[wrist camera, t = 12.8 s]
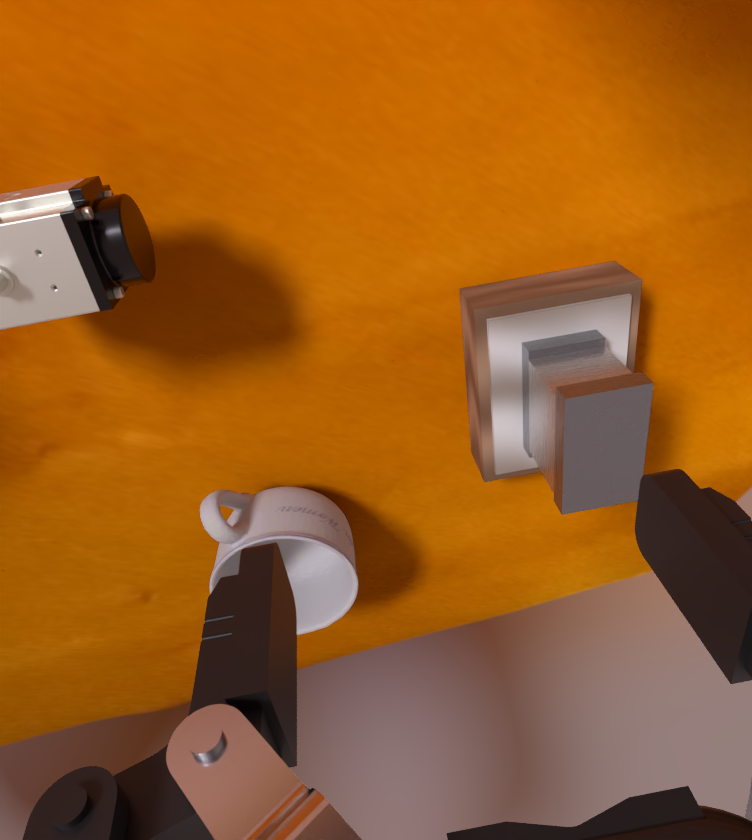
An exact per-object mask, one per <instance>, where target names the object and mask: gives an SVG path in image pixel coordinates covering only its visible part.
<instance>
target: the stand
mask: <svg viewBox="0 0 752 840" xmlns="http://www.w3.org/2000/svg"><path fill="white" fill-rule="evenodd" d="M641 288H642V279H641V278H639V277H638V276H636V275H635V274H633V273H632V272H630V271H629V270H627V269H626V268H624V267H623V266H621V265H620V264H618V263H617V262H615V261H612V262H607V263H601V264H595V265H590V266H584V267H579V268H573V269H567V270H562V271H556V272H551V273H545V274H539V275H534V276H528V277H523V278H517V279H512V280H506V281H500V282H495V283H489V284H484V285H478V286H472V287H467V288H461V289H460V302H461V316H462V329H463V343H464V356H465V370H466V383H467V397H468V410H469V424H470V437H471V451H472V455H473V457H474V459H475V461H476V464H477V466H478V468H479V471H480V473H481V475H482V478H483V480H484V482H488V481H493V480H499V479H504V478H510V477H515V476H520V475H526V474H531V473H537V472H541V470H540V468H539V467H538V465H537V463H536V462H535V460H534V458H533V457H532V458H529V456H528V454H527V453H526V451H525V449H524V447H523V396H522V342H528V341H533V340H539V339H545V338H550V337H556V336H562V335H567V334H573V333H578V332H584V331H590V330H595V329H596V330H597V331H599V332H600V333H601V334H602V335H603V336H604V337H605V347H606V348H607V349H608V350H609V351H610V352H611V353H612V354H613V355H614V356H615V357H616V358H617V359H618V360H620V361H621V362H622V363H623V364H624V365H625V366H626V367H627V368H628V369H629V370H630V371H631V372H632V373H634V364H635V353H636V342H637V331H638V321H639V310H640V299H641Z"/></svg>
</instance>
